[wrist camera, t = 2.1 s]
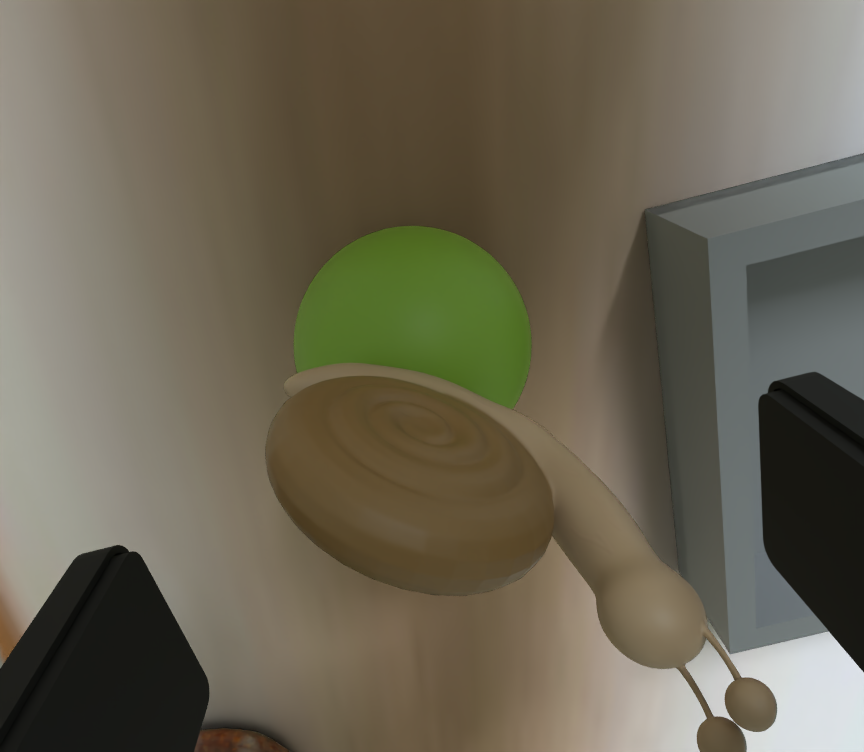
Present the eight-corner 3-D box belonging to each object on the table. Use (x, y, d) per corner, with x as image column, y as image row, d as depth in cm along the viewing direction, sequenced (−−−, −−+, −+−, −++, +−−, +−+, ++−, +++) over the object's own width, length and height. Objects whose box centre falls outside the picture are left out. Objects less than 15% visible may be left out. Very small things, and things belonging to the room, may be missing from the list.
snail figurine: (498, 426, 19) (658, 889, 8) (285, 369, 18) (132, 825, 7) (572, 255, 17) (919, 563, 6) (338, 176, 16) (240, 385, 5)
